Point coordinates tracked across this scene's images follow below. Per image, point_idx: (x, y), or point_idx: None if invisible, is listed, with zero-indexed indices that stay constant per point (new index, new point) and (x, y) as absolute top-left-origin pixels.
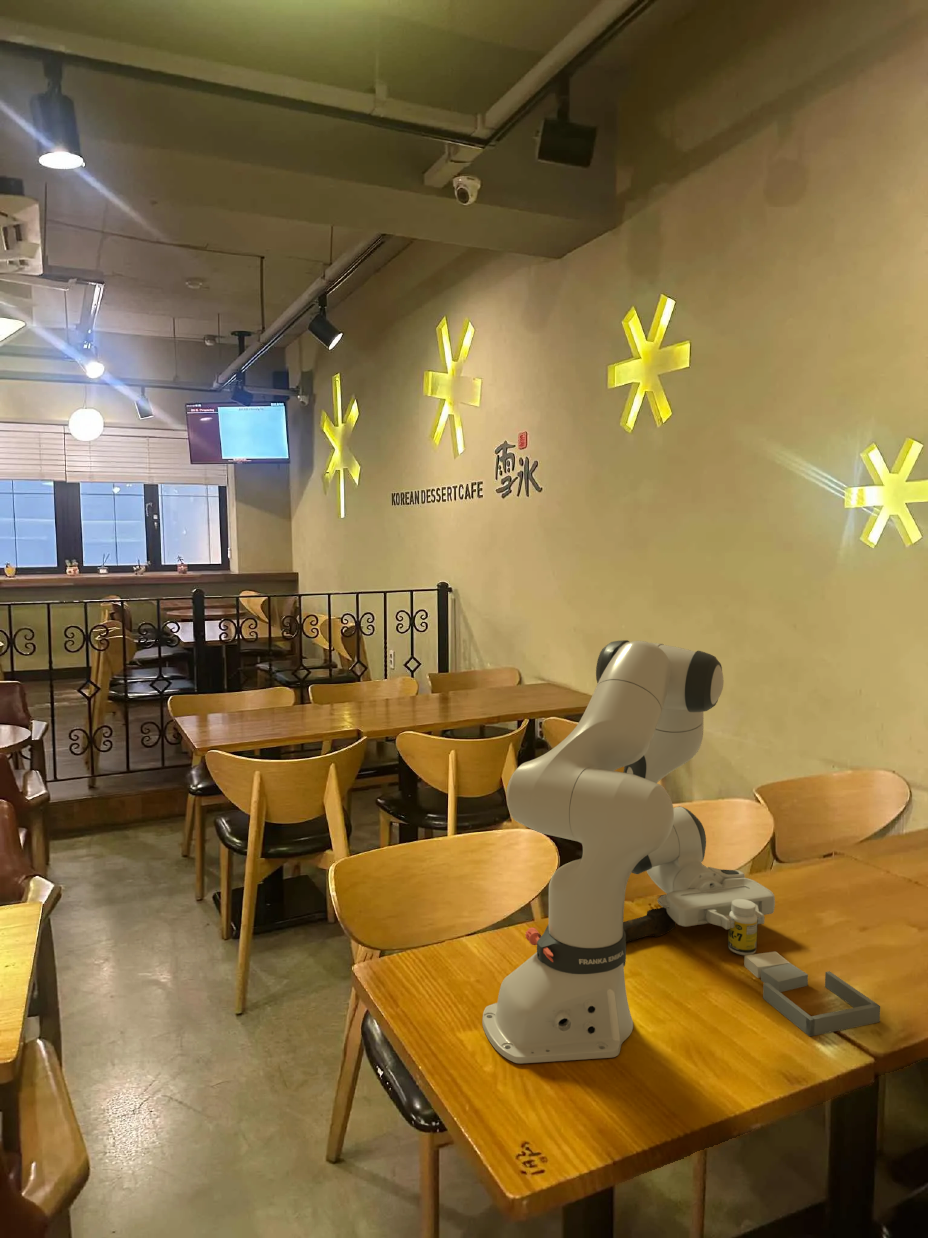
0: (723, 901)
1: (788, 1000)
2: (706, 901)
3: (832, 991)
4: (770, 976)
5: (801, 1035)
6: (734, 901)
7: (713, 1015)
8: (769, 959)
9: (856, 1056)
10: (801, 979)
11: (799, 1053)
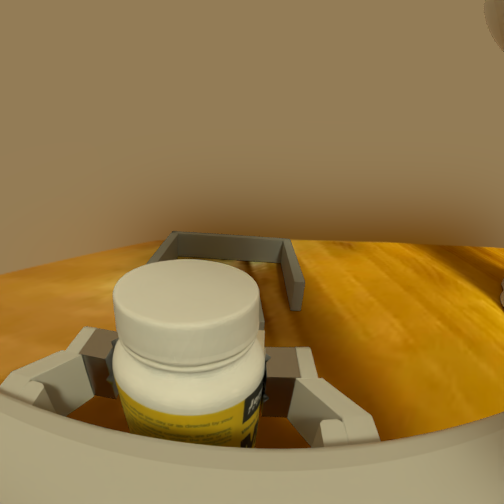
0: (205, 460)
1: (291, 256)
2: (378, 489)
3: None
4: (260, 306)
5: None
6: (220, 307)
7: (404, 304)
8: None
9: None
10: None
11: (318, 254)
